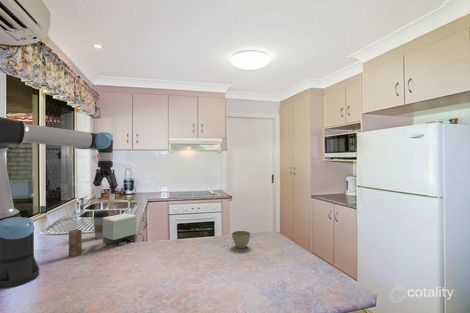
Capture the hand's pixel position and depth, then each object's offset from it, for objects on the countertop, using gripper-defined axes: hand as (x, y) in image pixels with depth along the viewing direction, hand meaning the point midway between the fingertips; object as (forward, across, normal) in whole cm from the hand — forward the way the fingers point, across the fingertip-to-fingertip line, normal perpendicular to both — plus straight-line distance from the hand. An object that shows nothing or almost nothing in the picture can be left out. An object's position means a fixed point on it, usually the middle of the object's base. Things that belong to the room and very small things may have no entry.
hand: (104, 198), depth 146 cm
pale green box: (+25, -7, -5) cm, 26 cm away
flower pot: (+24, -66, -37) cm, 80 cm away
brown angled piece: (+25, -5, +11) cm, 28 cm away
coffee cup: (+25, +12, -5) cm, 28 cm away
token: (+25, -9, -5) cm, 27 cm away
